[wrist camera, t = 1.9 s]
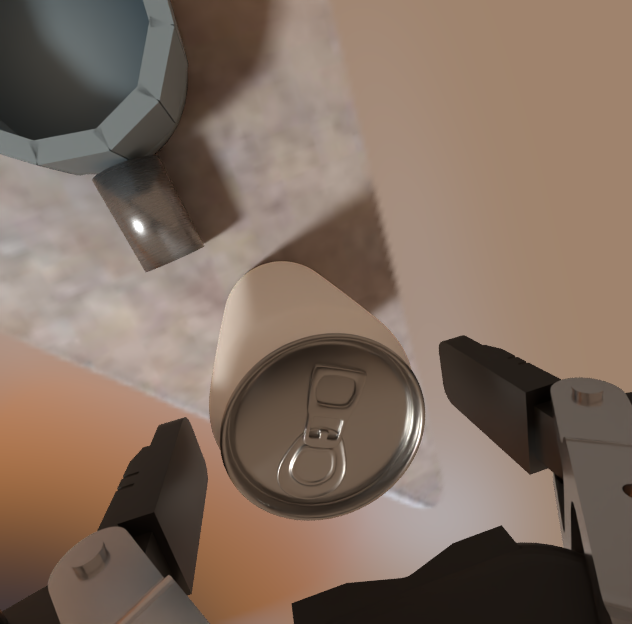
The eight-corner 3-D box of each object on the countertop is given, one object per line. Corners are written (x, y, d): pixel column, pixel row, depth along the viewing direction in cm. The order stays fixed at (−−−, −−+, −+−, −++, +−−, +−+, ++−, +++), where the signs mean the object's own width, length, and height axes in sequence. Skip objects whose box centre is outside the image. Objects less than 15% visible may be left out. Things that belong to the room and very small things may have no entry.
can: (215, 357, 21) (182, 530, 9) (236, 247, 19) (227, 294, 8) (320, 373, 22) (402, 537, 11) (346, 272, 21) (470, 340, 10)
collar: (10, 193, 17) (-69, 186, 12) (-106, -60, 14) (-261, -184, 10) (213, 152, 18) (204, 131, 14) (145, -90, 15) (107, -210, 11)
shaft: (107, 185, 17) (80, 179, 15) (164, 161, 18) (149, 150, 15) (154, 267, 19) (138, 276, 16) (206, 244, 19) (200, 249, 16)
